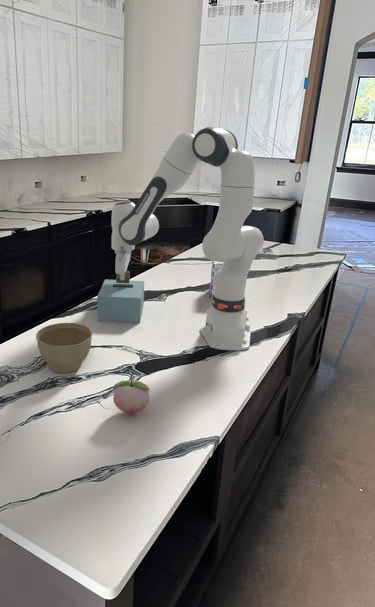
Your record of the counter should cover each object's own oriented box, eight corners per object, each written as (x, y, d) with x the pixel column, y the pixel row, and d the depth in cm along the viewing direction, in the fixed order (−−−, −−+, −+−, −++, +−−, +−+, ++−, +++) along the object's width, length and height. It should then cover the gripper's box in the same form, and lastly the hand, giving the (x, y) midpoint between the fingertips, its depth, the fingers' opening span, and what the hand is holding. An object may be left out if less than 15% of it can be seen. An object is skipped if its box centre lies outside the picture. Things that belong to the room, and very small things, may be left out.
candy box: (223, 300, 200) (226, 264, 194) (210, 299, 200) (213, 263, 194) (222, 289, 213) (225, 255, 207) (209, 289, 213) (212, 255, 207)
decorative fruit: (150, 403, 122) (151, 371, 118) (148, 422, 114) (149, 388, 111) (114, 402, 121) (114, 369, 118) (111, 421, 114) (110, 386, 110)
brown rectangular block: (129, 283, 179) (129, 272, 177) (116, 282, 178) (116, 271, 177) (129, 281, 180) (129, 271, 179) (116, 281, 180) (116, 270, 179)
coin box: (140, 322, 172) (140, 298, 168) (97, 321, 171) (97, 296, 168) (143, 303, 190) (144, 281, 187) (105, 302, 190) (105, 279, 186)
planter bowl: (37, 381, 129) (34, 347, 125) (39, 355, 143) (36, 324, 139) (94, 376, 133) (94, 343, 129) (90, 351, 148) (90, 321, 144)
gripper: (128, 251, 164) (128, 287, 169) (133, 238, 183) (133, 271, 188) (111, 250, 164) (111, 286, 169) (118, 237, 183) (118, 270, 188)
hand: (123, 278), depth 179 cm, fingers closed on brown rectangular block, 2 cm apart
